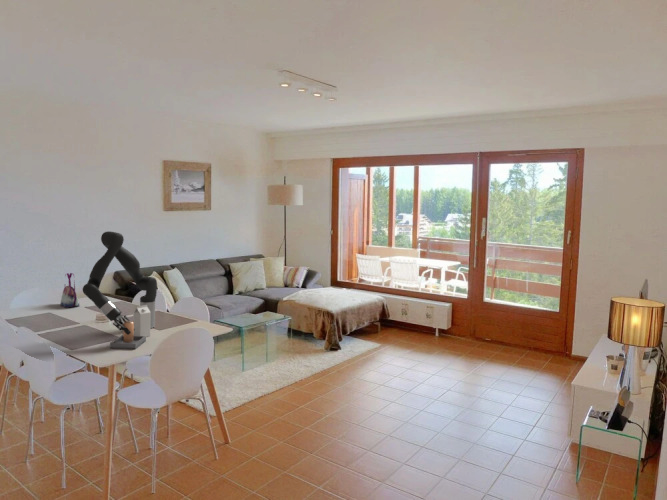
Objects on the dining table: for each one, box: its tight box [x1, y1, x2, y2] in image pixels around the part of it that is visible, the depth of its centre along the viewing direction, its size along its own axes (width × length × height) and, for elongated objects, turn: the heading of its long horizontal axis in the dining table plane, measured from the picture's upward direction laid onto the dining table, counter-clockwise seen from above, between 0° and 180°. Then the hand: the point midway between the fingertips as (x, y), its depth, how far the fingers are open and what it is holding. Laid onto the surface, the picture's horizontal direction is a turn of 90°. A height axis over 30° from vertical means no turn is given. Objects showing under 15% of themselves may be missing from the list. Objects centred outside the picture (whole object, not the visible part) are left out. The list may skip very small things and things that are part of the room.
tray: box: [109, 334, 147, 350], centre depth 281 cm, size 16×14×3 cm
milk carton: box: [132, 305, 151, 338], centre depth 298 cm, size 7×7×19 cm
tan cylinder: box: [122, 320, 134, 342], centre depth 280 cm, size 6×6×11 cm
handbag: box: [60, 272, 80, 309], centre depth 367 cm, size 21×10×25 cm, turn 49°
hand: (131, 332), depth 280 cm, fingers closed on tan cylinder, 5 cm apart
